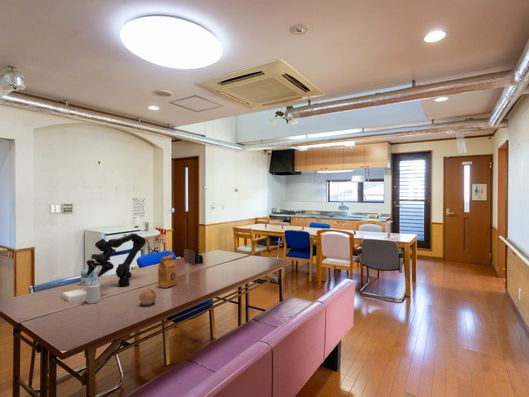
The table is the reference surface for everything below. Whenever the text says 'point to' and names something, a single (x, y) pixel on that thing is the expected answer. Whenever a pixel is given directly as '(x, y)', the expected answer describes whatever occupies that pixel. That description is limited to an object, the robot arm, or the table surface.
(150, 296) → the onion
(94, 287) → the can
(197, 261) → the letter holder
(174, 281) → the coffee package
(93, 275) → the light bulb box
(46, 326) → the table surface
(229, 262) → the table surface
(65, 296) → the stand
